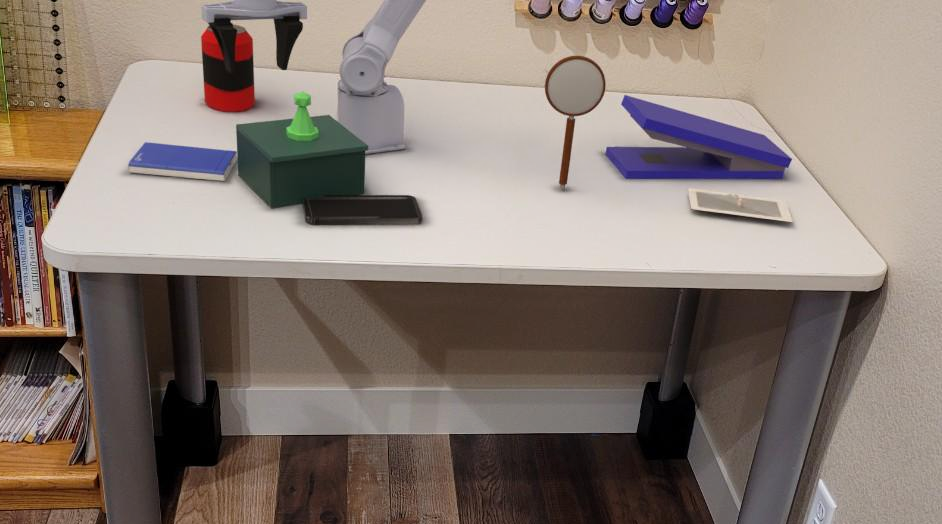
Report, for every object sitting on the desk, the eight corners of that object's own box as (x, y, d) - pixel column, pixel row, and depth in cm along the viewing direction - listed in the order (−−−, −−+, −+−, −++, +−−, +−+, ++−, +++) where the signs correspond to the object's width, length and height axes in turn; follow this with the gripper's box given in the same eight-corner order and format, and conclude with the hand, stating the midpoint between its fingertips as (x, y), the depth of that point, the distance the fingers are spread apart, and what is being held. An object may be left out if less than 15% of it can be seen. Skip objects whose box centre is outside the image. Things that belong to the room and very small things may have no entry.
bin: (364, 194, 144) (365, 148, 141) (271, 208, 136) (269, 160, 133) (328, 163, 151) (329, 119, 148) (238, 175, 144) (236, 129, 140)
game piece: (279, 132, 140) (278, 88, 137) (308, 127, 142) (308, 84, 139) (296, 143, 137) (296, 99, 134) (325, 138, 140) (325, 94, 137)
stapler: (604, 152, 170) (612, 94, 165) (757, 153, 179) (770, 98, 174) (627, 181, 161) (637, 120, 156) (788, 180, 170) (802, 122, 165)
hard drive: (127, 162, 139) (223, 171, 141) (145, 140, 146) (236, 149, 148) (128, 173, 140) (224, 182, 142) (146, 151, 147) (237, 160, 148)
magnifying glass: (589, 188, 156) (608, 56, 146) (591, 193, 155) (610, 60, 144) (532, 185, 154) (547, 51, 144) (534, 190, 153) (549, 55, 143)
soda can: (217, 93, 170) (213, 19, 164) (262, 101, 170) (260, 27, 164) (196, 107, 164) (191, 30, 158) (243, 115, 163) (240, 38, 157)
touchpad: (790, 228, 153) (794, 215, 152) (689, 215, 152) (692, 202, 151) (783, 207, 160) (786, 194, 158) (686, 194, 159) (689, 181, 158)
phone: (302, 195, 140) (414, 194, 144) (302, 202, 140) (414, 202, 145) (306, 220, 133) (423, 219, 138) (306, 228, 134) (423, 227, 138)
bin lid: (368, 150, 140) (368, 145, 140) (272, 162, 133) (272, 157, 132) (329, 119, 148) (329, 114, 148) (236, 129, 140) (235, 124, 140)
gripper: (292, -35, 151) (292, 58, 158) (191, -34, 143) (196, 63, 150) (313, -22, 146) (312, 73, 153) (210, -21, 138) (214, 79, 145)
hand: (256, 69), depth 151 cm, fingers open, 7 cm apart
